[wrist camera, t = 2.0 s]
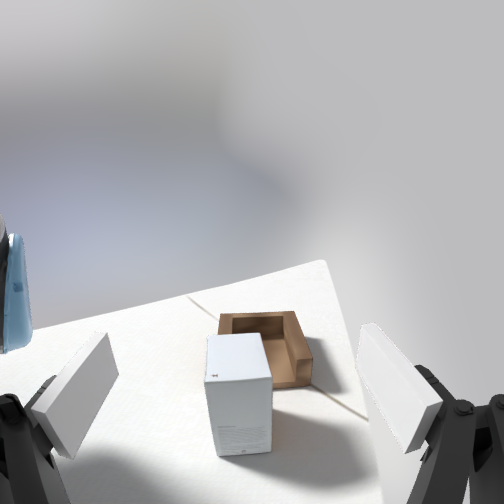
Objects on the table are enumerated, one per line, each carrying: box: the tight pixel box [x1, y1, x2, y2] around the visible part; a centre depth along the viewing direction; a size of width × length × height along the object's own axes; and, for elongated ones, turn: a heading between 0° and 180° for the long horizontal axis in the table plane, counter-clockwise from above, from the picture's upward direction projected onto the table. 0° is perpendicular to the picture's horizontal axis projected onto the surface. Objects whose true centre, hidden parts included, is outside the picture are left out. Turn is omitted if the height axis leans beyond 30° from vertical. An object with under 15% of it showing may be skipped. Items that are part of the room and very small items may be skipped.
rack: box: [218, 311, 313, 389], centre depth 41 cm, size 12×14×4 cm
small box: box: [204, 333, 273, 456], centre depth 26 cm, size 8×6×10 cm
